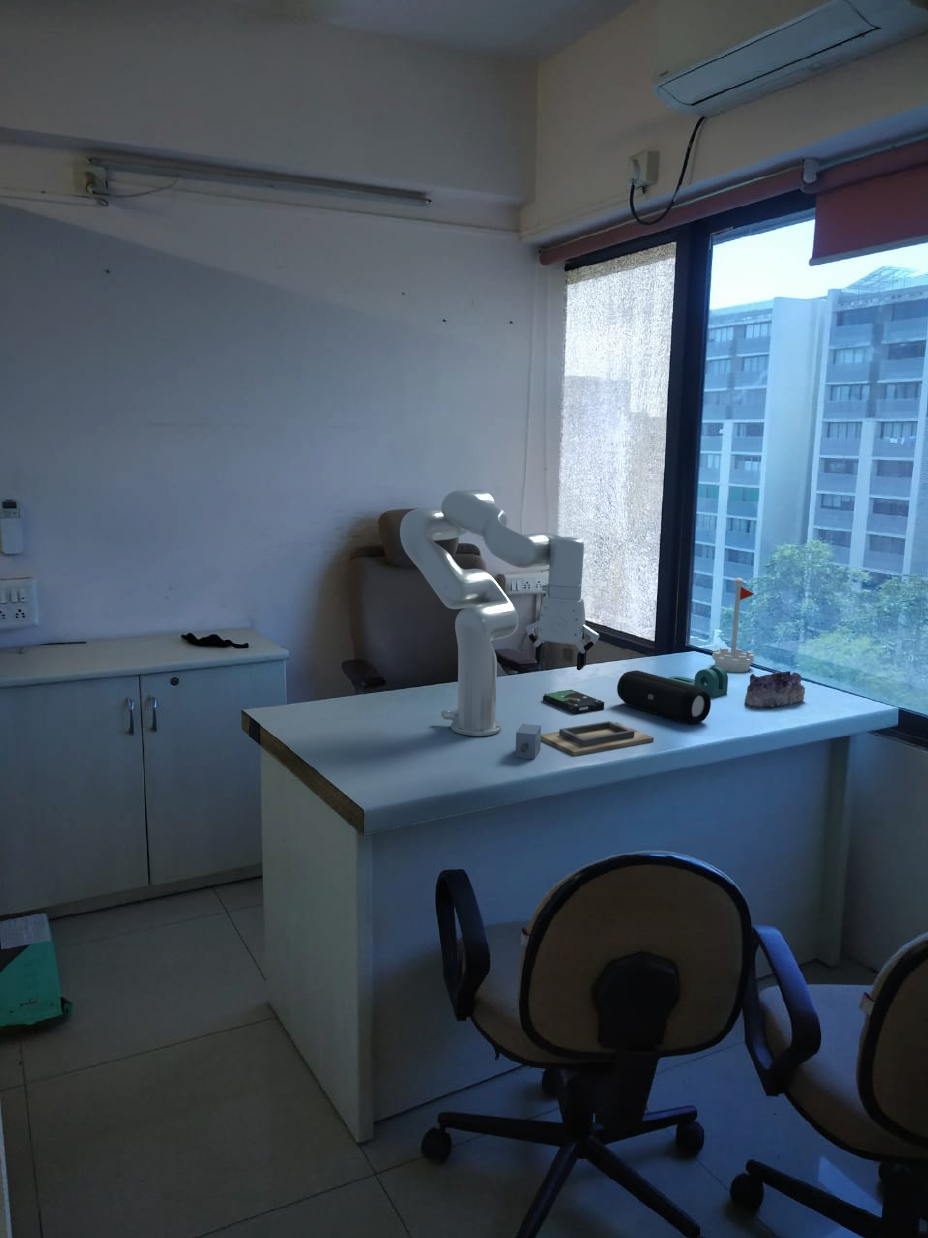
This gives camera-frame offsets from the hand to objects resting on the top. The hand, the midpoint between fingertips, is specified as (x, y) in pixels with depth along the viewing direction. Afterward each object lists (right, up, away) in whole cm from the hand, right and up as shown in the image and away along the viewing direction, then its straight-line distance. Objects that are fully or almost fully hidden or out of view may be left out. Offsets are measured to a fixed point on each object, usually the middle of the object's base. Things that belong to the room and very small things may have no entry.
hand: (559, 665), depth 210 cm
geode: (+66, -13, +51) cm, 84 cm away
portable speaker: (+31, -15, +37) cm, 51 cm away
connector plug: (-7, -21, +2) cm, 22 cm away
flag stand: (+66, -6, +91) cm, 113 cm away
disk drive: (+8, -14, +43) cm, 46 cm away
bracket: (+47, -11, +63) cm, 79 cm away
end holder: (+10, -19, +13) cm, 25 cm away
